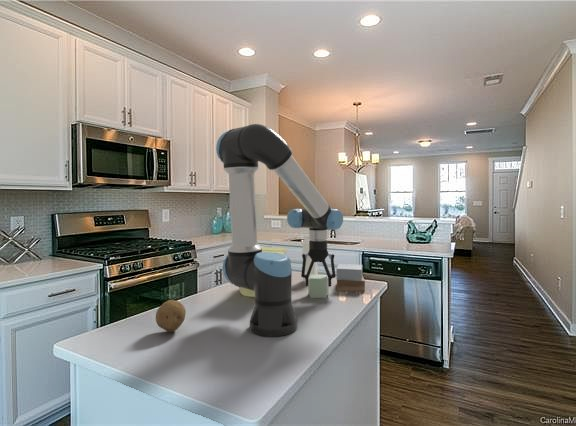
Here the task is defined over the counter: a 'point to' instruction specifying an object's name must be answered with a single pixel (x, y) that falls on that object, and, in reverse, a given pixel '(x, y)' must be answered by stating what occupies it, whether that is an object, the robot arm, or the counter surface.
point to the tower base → (351, 285)
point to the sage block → (318, 286)
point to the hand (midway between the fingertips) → (318, 293)
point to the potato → (170, 315)
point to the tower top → (349, 272)
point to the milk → (308, 259)
